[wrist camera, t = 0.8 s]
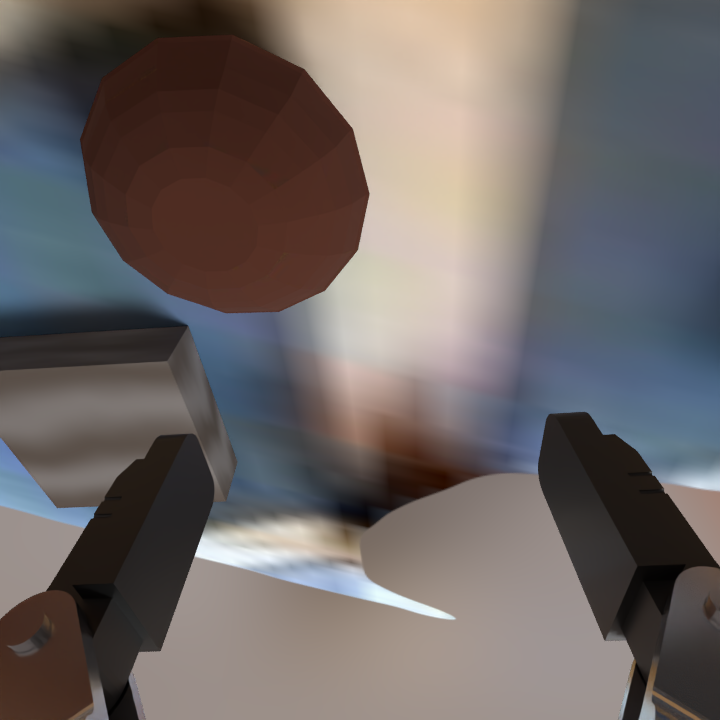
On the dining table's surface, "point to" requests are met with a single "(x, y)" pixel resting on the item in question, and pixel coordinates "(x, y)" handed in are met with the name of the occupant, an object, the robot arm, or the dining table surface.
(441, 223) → the dining table surface
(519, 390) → the dining table surface
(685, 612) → the robot arm
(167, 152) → the muffin
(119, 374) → the plinth
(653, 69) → the dining table surface
